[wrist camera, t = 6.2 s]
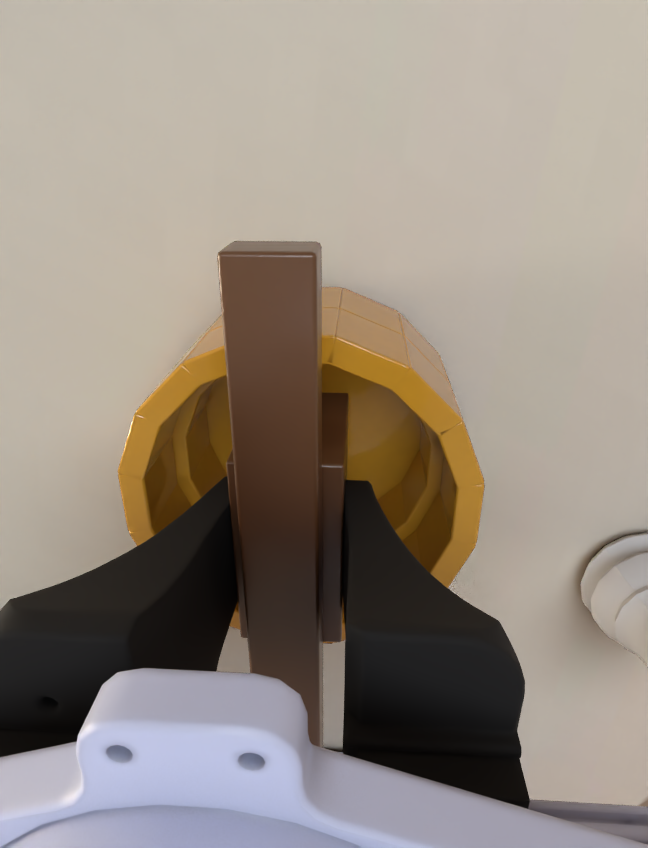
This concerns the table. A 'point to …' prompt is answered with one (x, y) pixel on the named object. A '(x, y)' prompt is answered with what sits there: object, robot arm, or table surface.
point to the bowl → (367, 434)
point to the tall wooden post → (284, 464)
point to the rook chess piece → (620, 592)
